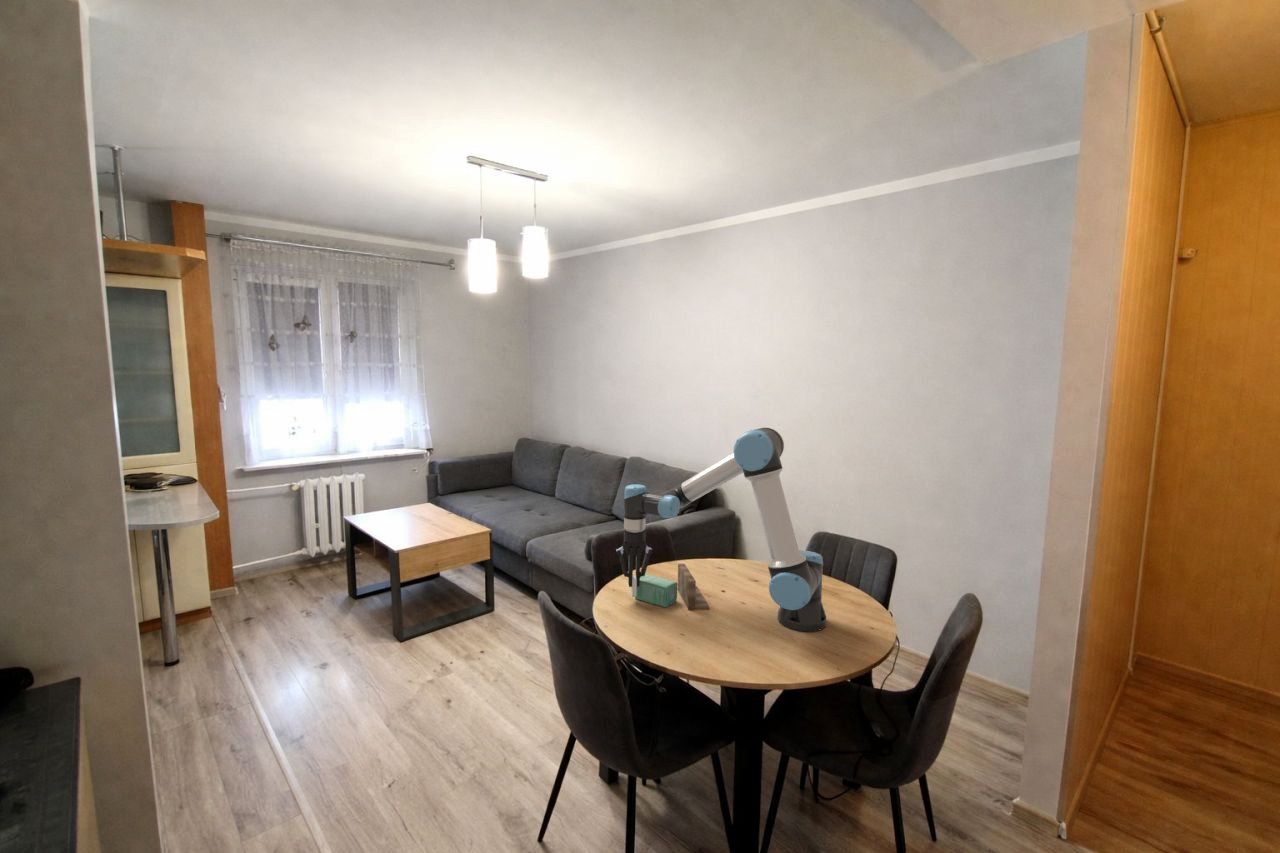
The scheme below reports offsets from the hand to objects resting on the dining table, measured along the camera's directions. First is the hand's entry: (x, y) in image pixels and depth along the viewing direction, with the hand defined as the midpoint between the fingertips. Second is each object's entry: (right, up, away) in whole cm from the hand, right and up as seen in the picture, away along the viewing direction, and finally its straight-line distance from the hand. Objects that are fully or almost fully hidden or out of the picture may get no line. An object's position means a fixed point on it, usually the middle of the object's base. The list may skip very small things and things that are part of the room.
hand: (633, 595), depth 194 cm
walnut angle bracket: (+21, -2, +3) cm, 21 cm away
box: (+8, -3, +2) cm, 8 cm away
